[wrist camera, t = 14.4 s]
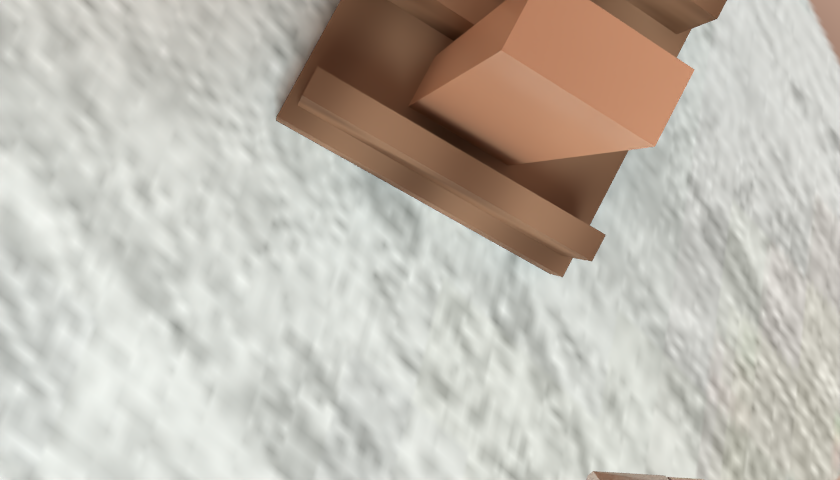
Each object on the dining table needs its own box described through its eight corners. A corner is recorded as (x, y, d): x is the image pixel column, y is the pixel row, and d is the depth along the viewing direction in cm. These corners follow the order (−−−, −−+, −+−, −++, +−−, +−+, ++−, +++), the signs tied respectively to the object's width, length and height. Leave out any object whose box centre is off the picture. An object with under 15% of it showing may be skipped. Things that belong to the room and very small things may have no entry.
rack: (275, 120, 31) (279, 107, 27) (432, -165, 32) (460, -223, 28) (549, 273, 34) (593, 284, 30) (686, 10, 35) (748, -17, 31)
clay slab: (408, 106, 31) (501, 50, 19) (435, 56, 31) (543, -31, 19) (508, 165, 32) (654, 146, 20) (534, 116, 32) (694, 69, 20)
